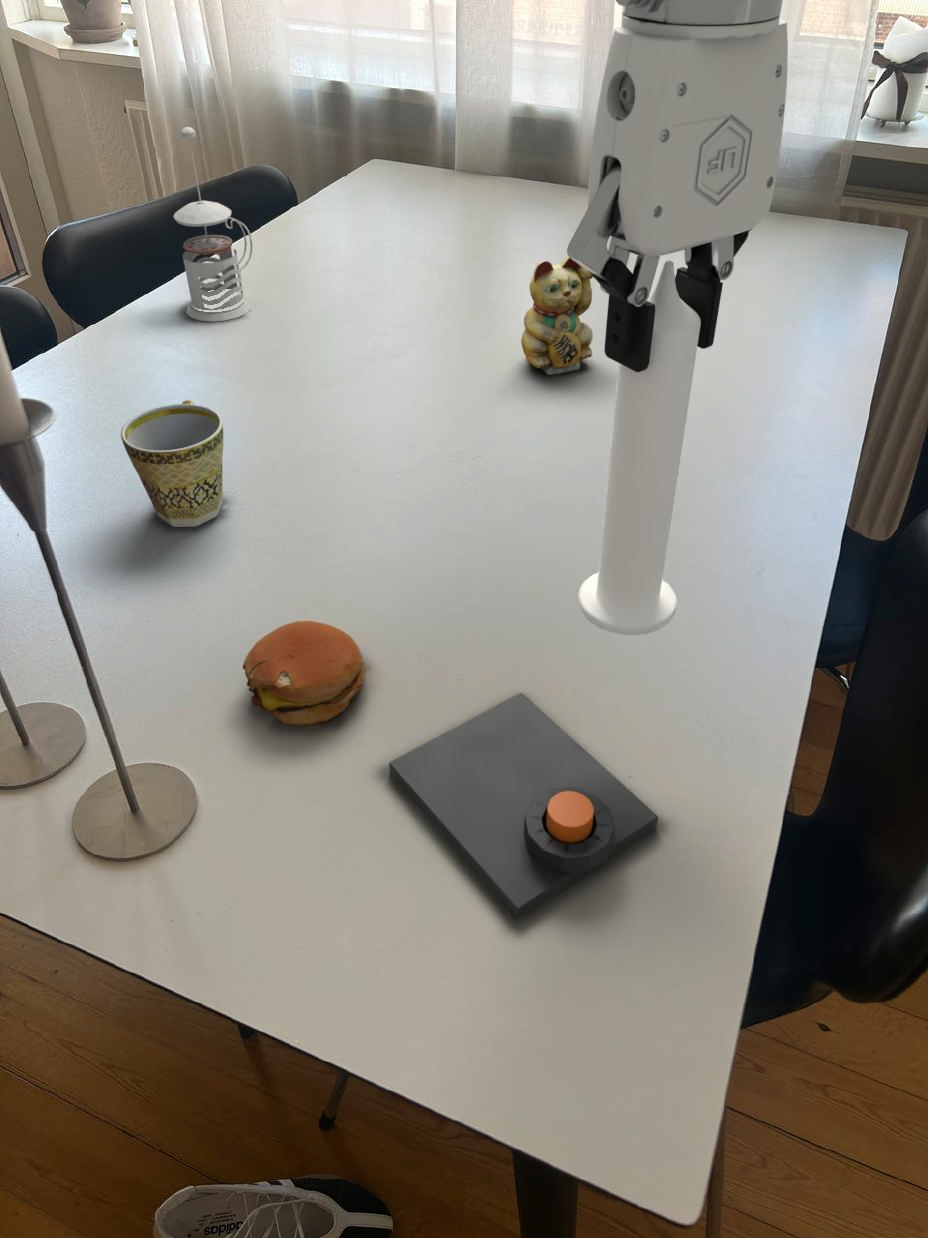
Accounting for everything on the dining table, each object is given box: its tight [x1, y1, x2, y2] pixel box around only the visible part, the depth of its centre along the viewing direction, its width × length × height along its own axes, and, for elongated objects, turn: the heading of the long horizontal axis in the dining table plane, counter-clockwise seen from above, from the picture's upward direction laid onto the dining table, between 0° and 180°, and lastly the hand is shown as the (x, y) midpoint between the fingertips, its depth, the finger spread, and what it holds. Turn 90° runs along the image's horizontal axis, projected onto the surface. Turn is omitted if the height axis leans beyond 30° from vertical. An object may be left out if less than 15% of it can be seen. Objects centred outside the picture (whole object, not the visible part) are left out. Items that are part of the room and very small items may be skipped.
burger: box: [242, 620, 366, 727], centre depth 81 cm, size 10×9×5 cm
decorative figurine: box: [520, 254, 594, 376], centre depth 125 cm, size 10×8×15 cm
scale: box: [388, 692, 659, 920], centre depth 71 cm, size 16×13×3 cm
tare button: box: [546, 791, 594, 843], centre depth 67 cm, size 3×3×2 cm
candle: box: [577, 259, 701, 636], centre depth 62 cm, size 7×7×25 cm
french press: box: [173, 126, 253, 322], centre depth 138 cm, size 10×12×25 cm
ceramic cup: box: [120, 399, 224, 528], centre depth 101 cm, size 13×10×10 cm
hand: (658, 348), depth 58 cm, fingers closed on candle, 4 cm apart
